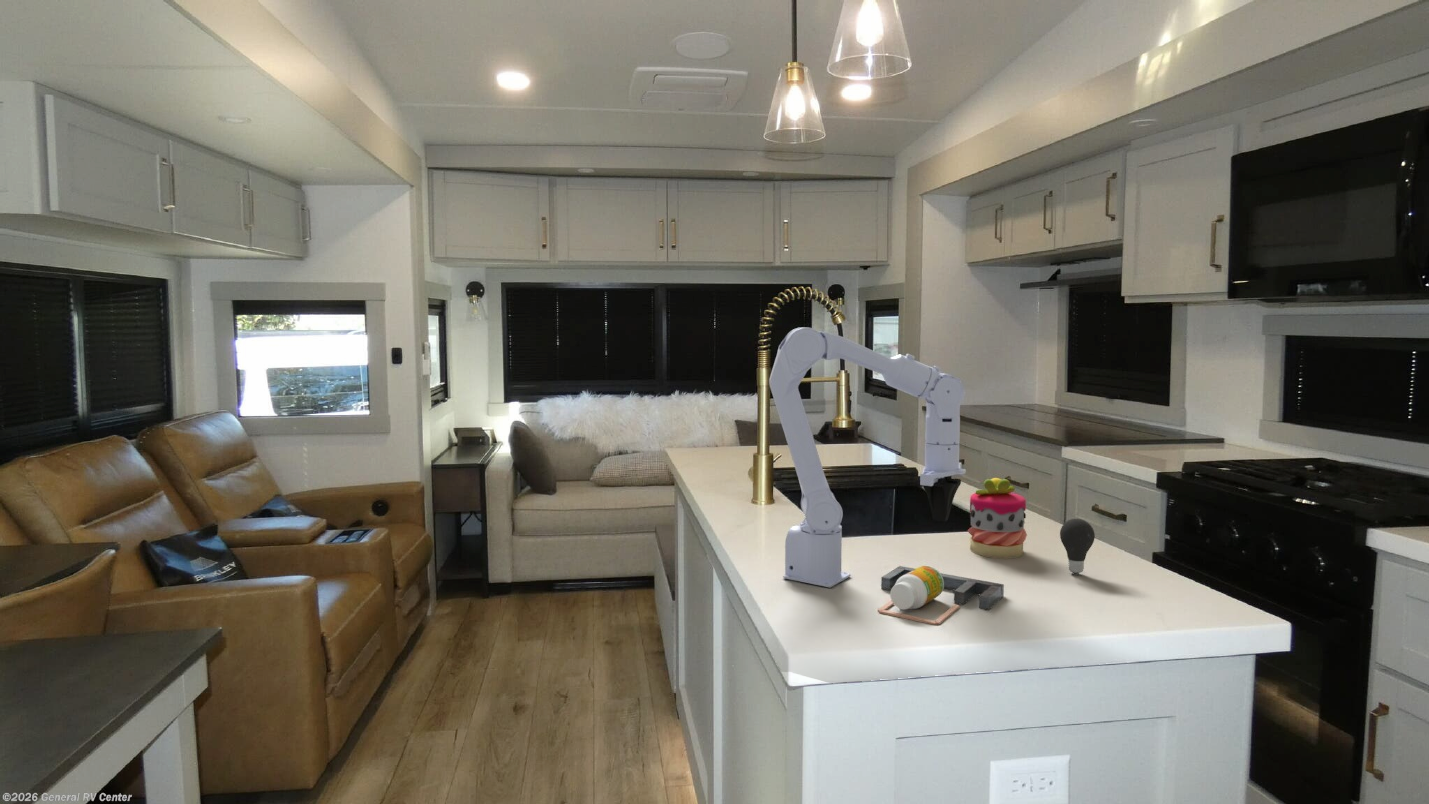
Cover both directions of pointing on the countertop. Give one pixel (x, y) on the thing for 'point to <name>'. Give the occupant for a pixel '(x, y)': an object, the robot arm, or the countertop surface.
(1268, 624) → the countertop surface
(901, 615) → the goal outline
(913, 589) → the supplement bottle
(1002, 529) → the cake
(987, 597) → the rail
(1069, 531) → the light bulb
